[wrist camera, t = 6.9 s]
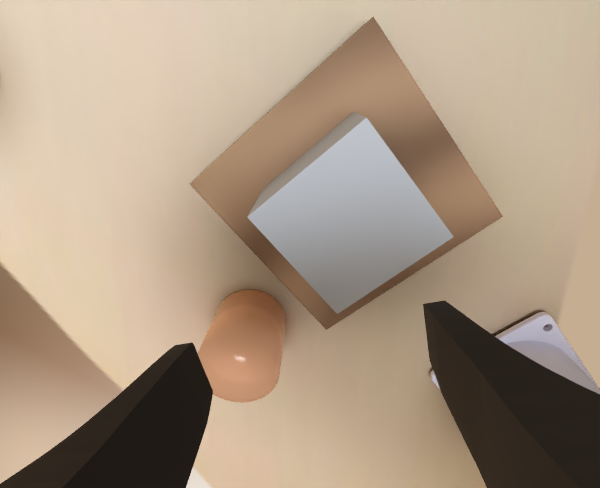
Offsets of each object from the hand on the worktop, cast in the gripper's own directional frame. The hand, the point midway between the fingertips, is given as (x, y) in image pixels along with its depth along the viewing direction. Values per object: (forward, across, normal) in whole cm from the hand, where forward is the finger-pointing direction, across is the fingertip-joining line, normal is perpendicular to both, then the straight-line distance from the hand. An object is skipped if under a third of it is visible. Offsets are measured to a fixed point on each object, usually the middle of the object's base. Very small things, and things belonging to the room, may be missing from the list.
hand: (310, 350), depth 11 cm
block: (+8, -2, -2) cm, 9 cm away
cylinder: (+10, +5, +5) cm, 12 cm away
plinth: (+10, -2, -2) cm, 10 cm away
